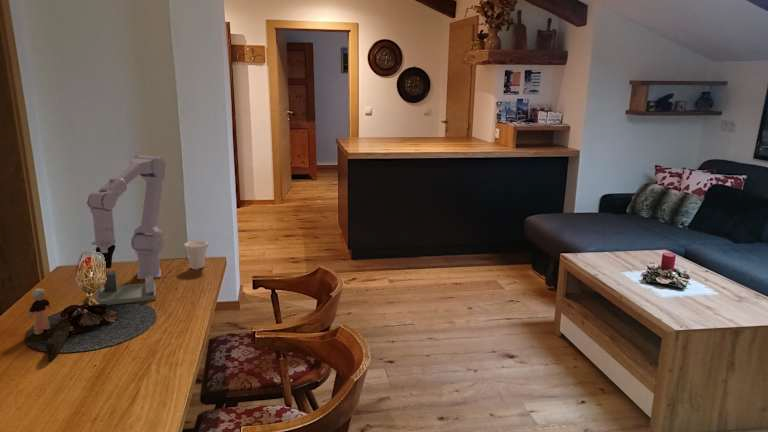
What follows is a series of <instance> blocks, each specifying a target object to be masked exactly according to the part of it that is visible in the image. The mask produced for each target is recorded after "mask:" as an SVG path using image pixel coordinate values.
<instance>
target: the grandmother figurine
mask: <svg viewBox="0 0 768 432" xmlns="http://www.w3.org/2000/svg"><path fill="white" fill-rule="evenodd" d="M45 294H46V291H45V289H43V288H39V287H38V288H37V287H36V289H33V290H32V292H31V297H32V298H33V299H34V301H33V303H32V304H31V306H30V307H29V308H30V309H29V310H28V315H27V319H31V318H33V328H34V331H33V334H35V335H42V334H43V333H44V331H43V330H47V331H49V330H50V329H51V326H50V321H49V320H50V319H49V317H48V313H47V310H46V309H51V308H52V305H51V303H50V301H49V300H48V299H45ZM33 315H34V317H33ZM48 329H49V330H48ZM41 333H42V334H41Z"/></svg>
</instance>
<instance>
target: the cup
mask: <svg viewBox="0 0 768 432" xmlns="http://www.w3.org/2000/svg"><path fill="white" fill-rule="evenodd" d="M208 246H209V241H206V240H191V241H187V242H185V243H183V244H182V247H184V249H186V251H187V256H188V257H189V259H188V260H189V269H191V268H192V269H191V270H200V269H199V268H202V267H204V266H205V267H206V259H205V258H206V253H207V249H208ZM205 267H204V268H205ZM202 269H203V268H202Z"/></svg>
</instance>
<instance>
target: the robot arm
mask: <svg viewBox="0 0 768 432" xmlns="http://www.w3.org/2000/svg"><path fill="white" fill-rule="evenodd" d="M129 163H130V164H129V165H128V166H127V167H126V169H125V170H124V171H123V172H122V173H121V174H120V175H119V176H118V177H116V176H115V177H110V178H109V180H108V181H107V182H106V183H105V184H104V185H103V186H101V187H100V188H99V189H98V190H95V191H93V192H91V193H90V194H89V195H88V197H87V200H86V204H87V207H88V208H89V209H90V214H92V219H93V220H92V221H93V222H92V223H93V231H94V232H93V233H94V240H92V241H91V242H90V243H91V245H92V246H94V245H95V246H96V247H95V252H96V253H97V252H100V253H102V254H103V255H104V257H105V261H106V269H111V267H112V262H113V255H114V252H115V250H116V245H115V244H116V240H115V238H116V237H115V229H114V227H115V226H114V218H113V217H114V216H113V215H114V213H113V209H114V208H115V207H116V205H117V204H116V203H117V201H118V200H119V199H118V198H120V197H121V196H122V195H123V194H124V193H125V192H126V191H127V189H128V184H130V183H131V182H132V181H133V180H135V178H138V176H140V177H141V178H142V179H143V180H144V181H145V182H146V186H145V193H144V194H145V195H144V202H143V207H142V208H143V209H142V215H141V216H142V217H141V220H140V221H141V223H140V225H139V226H137V227H136V228H135V229H134V231H133V232H134V233H133V236H132V238H131V240H130V246H131V248H132V249H133V250H134V253H136V255H137V257H136V258H137V269H138V270H137V278H136V279H137V280H144V279H145V276H146V275H153V279H157V278H162V268H160V256H159V255H160V252H161V250H162V249H163V247H164V238H163V235H164V233H163V231H162V230H161V229H160V228H158V219H159V212H160V204H161V199H162V191H163V184H164V183H163V182H164V179H165V174H166V173H165V172H166V168H167V167H166V166H167V165H166V163H165V160H164V159H163V157H161V156H159V155H158V156H152V155H140V154H136V155H135V156H134V157H132V158H131V159H130V162H129Z"/></svg>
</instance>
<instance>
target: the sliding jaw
mask: <svg viewBox="0 0 768 432" xmlns="http://www.w3.org/2000/svg"><path fill="white" fill-rule="evenodd" d="M154 279H155V278H153V275H146V276H145V281H144V283H145V290H146V294H150V293H154V282H155V281H154Z"/></svg>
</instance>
